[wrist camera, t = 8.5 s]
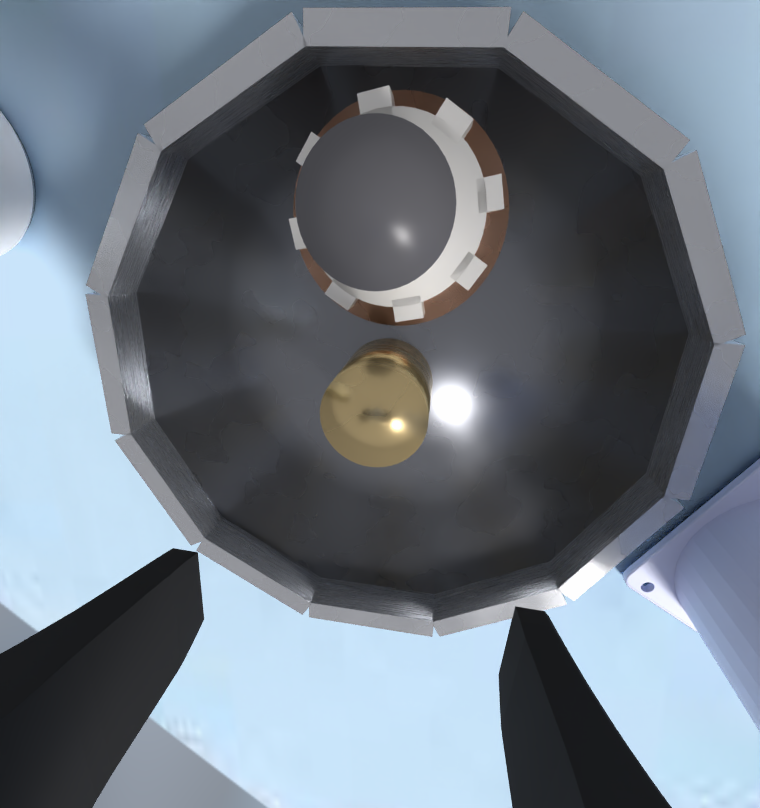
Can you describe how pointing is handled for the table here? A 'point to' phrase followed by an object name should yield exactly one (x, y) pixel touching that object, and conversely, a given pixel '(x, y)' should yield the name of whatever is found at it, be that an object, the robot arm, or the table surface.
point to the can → (14, 188)
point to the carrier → (416, 330)
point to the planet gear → (394, 204)
